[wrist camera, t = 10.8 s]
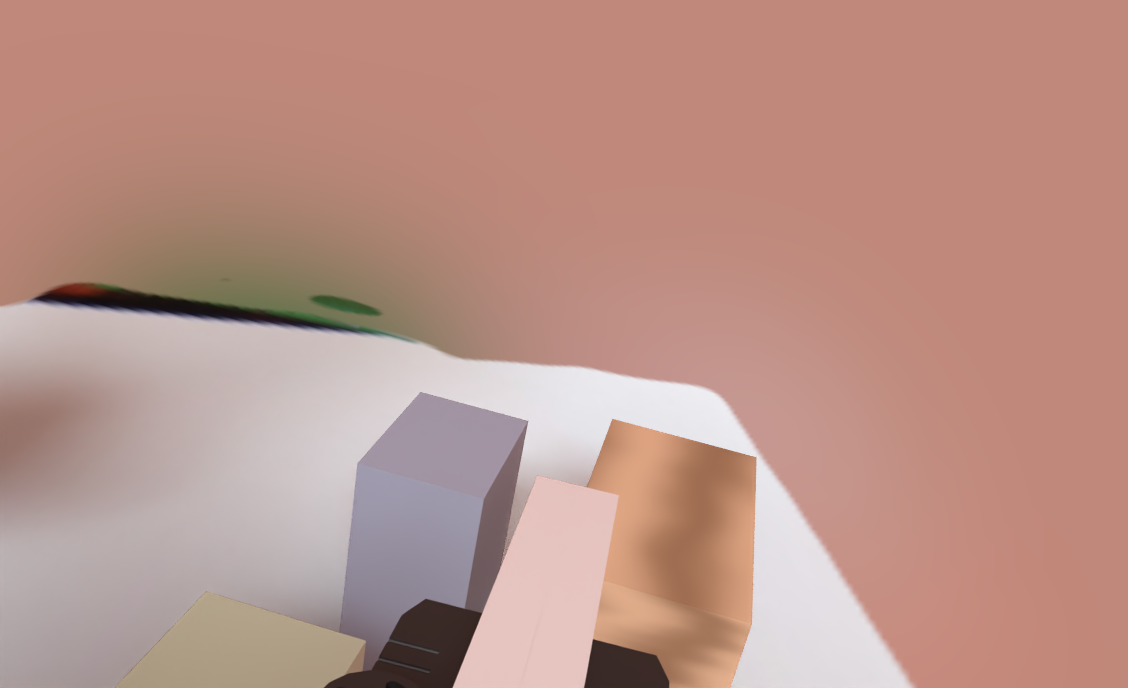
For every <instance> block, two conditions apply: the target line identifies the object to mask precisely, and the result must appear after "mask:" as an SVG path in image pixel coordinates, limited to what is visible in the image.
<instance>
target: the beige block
mask: <svg viewBox="0 0 1128 688" xmlns="http://www.w3.org/2000/svg"><path fill="white" fill-rule="evenodd" d="M365 645H366V641H365V640H362V639H358V638H355V637H352V636H349V635H346V634H342V633H339V632H336V631H333V630H329V629H326V628H323V627H320V626H316V625H313V624H310V623H307V622H304V621H300V620H297V619H294V618H291V617H287V616H284V615H281V614H278V613H274V612H271V611H268V610H265V609H262V608H258V607H255V606H252V605H249V604H245V603H242V602H239V601H236V600H233V599H229V598H226V597H223V596H220V595H216V594H213V593H210V592H207V591H206V592H205V593H204V594H203V595H202V596H201V597H200V598H199V599H198V600H197V602H196V603H195V604H194V605H193V606H192V607H191V608H190V609H189V610H188V611H187V612H186V613H185V614H184V615H183V616H182V617H181V618H180V619H179V620H178V622H177V623H176V624H175V625H174V626H173V627H172V628H171V629H170V630H169V631H168V632H167V633H166V634H165V635H164V636H163V637H162V638H161V639H160V640H159V642H158V643H157V644H156V645H155V646H154V647H153V648H152V649H151V650H150V651H149V652H148V653H147V654H146V655H145V656H144V657H143V658H142V659H141V660H140V662H139V663H138V664H137V665H136V666H135V667H134V668H133V669H132V670H131V671H130V672H129V673H128V674H127V675H126V676H125V677H124V678H123V679H122V681H121V682H120V683H119V684H118V685H117V686H116V687H115V688H324V687H325V686H326V685H327V684H328V683H329V682H331V681H333V680H335V679H337V678H339V677H342V676H344V675H346V674H348V673H354V672H361V671H362V670H363V662H364V654H365Z"/></svg>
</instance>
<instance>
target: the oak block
mask: <svg viewBox="0 0 1128 688" xmlns="http://www.w3.org/2000/svg"><path fill="white" fill-rule="evenodd" d="M587 488H591V489H595V490H599V491H603V492H608V493H612V494H616V495H619V498H618V503H617V509H616V514H615V520H614V525H613V531H612V536H611V542H610V547H609V553H608V558H607V564H606V569H605V575H604V580H603V586H602V591H601V597H600V602H599V608H598V613H597V619H596V624H595V630H594V635H593V639H595V640H599V641H602V642H606V643H610V644H614V645H618V646H622V647H626V648H630V649H634V650H638V651H641V652H645V653H649V654H653V655H657V657H658V659H659V661H660V663H661V665H662V667H663V669H664V671H665V673H666V676H667V678H668V680H669V688H730V687H731V684H732V681H733V678H734V675H735V672H736V669H737V666H738V663H739V660H740V657H741V654H742V652H743V649H744V646H745V643H746V640H747V637H748V634H749V631H750V628H751V625H752V600H753V564H754V528H755V492H756V457H753V456H749V455H745V454H742V453H738V452H734V451H730V450H727V449H723V448H719V447H715V446H712V445H708V444H704V443H700V442H697V441H693V440H689V439H685V438H682V437H678V436H674V435H670V434H667V433H663V432H659V431H655V430H652V429H648V428H644V427H640V426H637V425H633V424H629V423H625V422H622V421H618V420H614V419H612V422H611V424H610V427H609V430H608V432H607V435H606V438H605V440H604V443H603V446H602V449H601V451H600V454H599V457H598V459H597V462H596V465H595V467H594V470H593V473H592V475H591V478H590V481H589V483H588V486H587Z"/></svg>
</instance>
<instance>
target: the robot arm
mask: <svg viewBox="0 0 1128 688" xmlns="http://www.w3.org/2000/svg"><path fill="white" fill-rule="evenodd" d="M618 498H619V495H616V494H612V493H608V492H603V491H599V490H595V489H591V488H587V487H583V486H579V485H575V484H571V483H566V482H562V481H558V480H554V479H550V478H546V477H542V476H538V475H537V478H536V480H535V483H534V485H533V488H532V490H531V493H530V495H529V498H528V500H527V503H526V505H525V508H524V510H523V513H522V515H521V518H520V520H519V523H518V525H517V528H516V530H515V533H514V535H513V538H512V540H511V543H510V545H509V548H508V550H507V553H506V555H505V558H504V560H503V563H502V565H501V568H500V570H499V573H498V576H497V578H496V581H495V583H494V586H493V588H492V591H491V593H490V596H489V598H488V601H487V603H486V606H485V608H484V611H483V613H480V612H476V611H472V610H468V609H464V608H460V607H456V606H453V605H449V604H445V603H441V602H437V601H433V600H429V599H425V600H423V601H422V602H420V603H419V604H417V605H416V606H414V607H413V608H411V609H410V610H408V611H407V612H405V613H404V614H402V615H401V617H400V619H399V621H398V623H397V624H396V626H395V628H394V630H393V632H392V634H391V635H390V637H389V641H388V642H387V643H386V644H385V646H384V648H383V650H382V652H381V654H380V655H379V659H378V661H376V663H375V664H374V666H373V668H372V670H368V671H361V672H354V673H348V674H346V675H344V676H342V677H339V678H337V679H335V680H333V681H331V682H329V683H328V684H327V685H326V686H325V687H324V688H669V680H668V678H667V676H666V673H665V671H664V669H663V667H662V665H661V663H660V661H659V659H658V657H657V655H653V654H649V653H645V652H641V651H638V650H634V649H630V648H626V647H622V646H618V645H614V644H610V643H606V642H602V641H599V640H595V639H593V635H594V630H595V624H596V619H597V613H598V608H599V602H600V597H601V591H602V586H603V580H604V575H605V569H606V564H607V558H608V553H609V547H610V542H611V536H612V531H613V525H614V520H615V514H616V509H617V503H618Z"/></svg>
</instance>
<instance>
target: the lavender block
mask: <svg viewBox="0 0 1128 688" xmlns="http://www.w3.org/2000/svg"><path fill="white" fill-rule="evenodd" d="M527 424H528V421H526V420H522V419H519V418H515V417H511V416H507V415H504V414H500V413H496V412H493V411H489V410H485V409H481V408H478V407H474V406H470V405H467V404H463V403H459V402H455V401H452V400H448V399H444V398H441V397H437V396H433V395H429V394H426V393H422V392H420V393H419V395H418V396H417V397H416V398H415V399H414V400H413V401H412V403H411V404H410V405H409V406H408V407H407V408H406V409H405V410H404V412H403V413H402V414H401V415H400V416H399V417H398V418H397V419H396V421H395V422H394V423H393V424H392V425H391V426H390V427H389V429H388V430H387V431H386V432H385V433H384V434H383V435H382V436H381V438H380V439H379V440H378V441H377V442H376V443H375V444H374V446H373V447H372V448H371V449H370V450H369V451H368V452H367V453H366V455H365V456H364V457H363V458H362V459H361V460H360V461H359V463H358V465H357V475H356V484H355V493H354V503H353V512H352V522H351V531H350V541H349V550H348V560H347V569H346V578H345V588H344V597H343V607H342V616H341V626H340V633H342V634H346V635H349V636H352V637H355V638H358V639H362V640H365V641H366V645H365V654H364V662H363V670H362V671H368V670H372V668H373V666H374V664H375V663H376V661H378V659H379V655H380V654H381V652H382V650H383V648H384V646H385V644H386V643H387V642H388V641H389V637H390V635H391V634H392V632H393V630H394V628H395V626H396V624H397V623H398V621H399V619H400V617H401V615H402V614H404V613H405V612H407V611H408V610H410V609H411V608H413V607H414V606H416V605H417V604H419V603H420V602H422V601H423V600H425V599H429V600H433V601H437V602H441V603H445V604H449V605H453V606H456V607H460V608H464V609H468V610H472V611H476V612H480V613H483V611H484V608H485V606H486V603H487V601H488V598H489V596H490V593H491V591H492V588H493V586H494V583H495V581H496V578H497V576H498V573H499V570H500V566H501V561H502V556H503V551H504V545H505V540H506V535H507V529H508V524H509V519H510V514H511V508H512V503H513V498H514V493H515V487H516V482H517V477H518V472H519V466H520V461H521V456H522V451H523V445H524V440H525V435H526V429H527Z"/></svg>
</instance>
